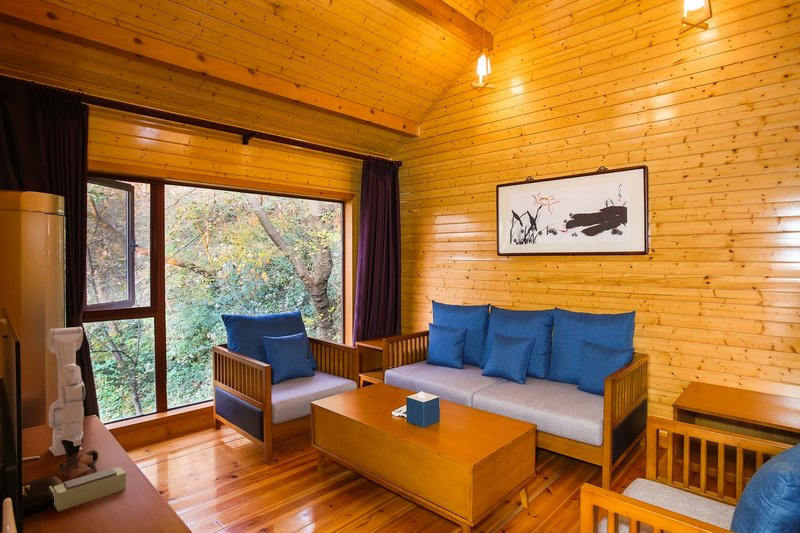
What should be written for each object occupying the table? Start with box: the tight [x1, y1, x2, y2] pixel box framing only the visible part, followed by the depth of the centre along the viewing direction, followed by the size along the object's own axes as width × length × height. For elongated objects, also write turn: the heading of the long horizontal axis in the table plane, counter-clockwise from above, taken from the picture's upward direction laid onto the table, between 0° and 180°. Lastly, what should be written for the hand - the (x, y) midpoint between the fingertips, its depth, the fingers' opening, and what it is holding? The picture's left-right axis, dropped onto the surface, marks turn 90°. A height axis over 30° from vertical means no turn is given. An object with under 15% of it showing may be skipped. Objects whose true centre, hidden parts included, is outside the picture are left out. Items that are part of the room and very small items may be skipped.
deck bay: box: [48, 466, 127, 512], centre depth 133 cm, size 11×17×6 cm, turn 139°
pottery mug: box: [57, 449, 99, 477], centre depth 144 cm, size 12×10×8 cm
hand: (71, 460), depth 150 cm, fingers closed
